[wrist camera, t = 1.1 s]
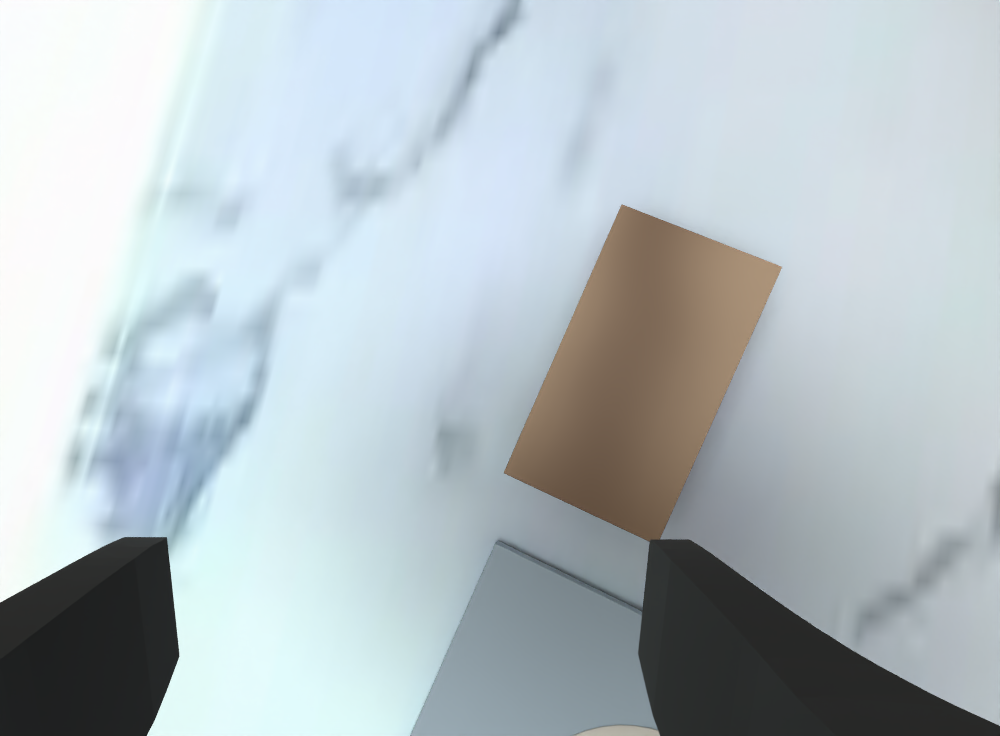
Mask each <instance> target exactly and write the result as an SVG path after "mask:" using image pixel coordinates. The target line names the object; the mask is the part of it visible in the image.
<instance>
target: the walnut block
mask: <svg viewBox="0 0 1000 736" xmlns="http://www.w3.org/2000/svg"><path fill="white" fill-rule="evenodd" d="M781 268H782V267H781V266H778V265H776V264H773V263H771V262H768V261H765V260H763V259H760V258H758V257H755V256H753V255H750V254H748V253H745V252H742V251H740V250H737V249H735V248H732V247H730V246H727V245H724V244H722V243H719V242H717V241H714V240H712V239H709V238H707V237H704V236H701V235H699V234H696V233H694V232H691V231H689V230H686V229H683V228H681V227H678V226H676V225H673V224H671V223H668V222H666V221H663V220H660V219H658V218H655V217H653V216H650V215H648V214H645V213H642V212H640V211H637V210H635V209H632V208H630V207H627V206H625V205H621V207H620V210H619V212H618V214H617V216H616V219H615V221H614V223H613V226H612V228H611V230H610V232H609V235H608V237H607V239H606V241H605V244H604V246H603V248H602V251H601V253H600V255H599V257H598V260H597V262H596V264H595V266H594V269H593V271H592V273H591V276H590V278H589V280H588V282H587V285H586V287H585V289H584V291H583V294H582V296H581V298H580V301H579V303H578V305H577V307H576V310H575V312H574V314H573V317H572V319H571V321H570V323H569V326H568V328H567V330H566V332H565V335H564V337H563V339H562V342H561V344H560V346H559V348H558V351H557V353H556V355H555V357H554V360H553V362H552V364H551V367H550V369H549V371H548V373H547V376H546V378H545V380H544V382H543V385H542V387H541V389H540V392H539V394H538V396H537V398H536V401H535V403H534V405H533V407H532V410H531V412H530V414H529V417H528V419H527V421H526V423H525V426H524V428H523V430H522V433H521V435H520V437H519V439H518V442H517V444H516V446H515V448H514V451H513V453H512V455H511V458H510V460H509V462H508V464H507V467H506V469H505V471H504V473H505V474H507V475H509V476H511V477H513V478H515V479H517V480H520V481H522V482H524V483H526V484H528V485H530V486H532V487H534V488H537V489H539V490H541V491H543V492H545V493H547V494H549V495H551V496H554V497H556V498H558V499H560V500H562V501H564V502H566V503H568V504H571V505H573V506H575V507H577V508H579V509H581V510H583V511H585V512H588V513H590V514H592V515H594V516H596V517H598V518H600V519H602V520H605V521H607V522H609V523H611V524H613V525H615V526H617V527H619V528H622V529H624V530H626V531H628V532H630V533H632V534H634V535H636V536H639V537H641V538H643V539H645V540H647V541H649V542H650V539H658V540H660V537H661V535H662V533H663V531H664V528H665V526H666V524H667V522H668V519H669V517H670V515H671V513H672V511H673V508H674V506H675V504H676V502H677V499H678V497H679V495H680V493H681V491H682V488H683V486H684V484H685V482H686V479H687V477H688V475H689V473H690V471H691V468H692V466H693V464H694V462H695V459H696V457H697V455H698V453H699V451H700V448H701V446H702V444H703V442H704V439H705V437H706V435H707V433H708V431H709V428H710V426H711V424H712V422H713V419H714V417H715V415H716V413H717V411H718V408H719V406H720V404H721V402H722V399H723V397H724V395H725V393H726V391H727V388H728V386H729V384H730V382H731V379H732V377H733V375H734V373H735V371H736V368H737V366H738V364H739V362H740V359H741V357H742V355H743V353H744V351H745V348H746V346H747V344H748V342H749V339H750V337H751V335H752V333H753V331H754V328H755V326H756V324H757V322H758V319H759V317H760V315H761V313H762V310H763V308H764V306H765V304H766V302H767V299H768V297H769V295H770V293H771V290H772V288H773V286H774V284H775V282H776V279H777V277H778V275H779V273H780V270H781Z"/></svg>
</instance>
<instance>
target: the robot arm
mask: <svg viewBox="0 0 1000 736" xmlns="http://www.w3.org/2000/svg"><path fill="white" fill-rule="evenodd" d="M638 656H639V660H640V665H641V669H642V673H643V678H644V682H645V687H646V691H647V695H648V699H649V703H650V707H651V711H652V715H653V718H654V720H655V723H656V726H657V729H658V731H659V734H660V736H1000V726H999V725H996V724H994V723H992V722H990V721H988V720H985V719H983V718H981V717H979V716H977V715H974V714H972V713H970V712H968V711H965V710H963V709H961V708H959V707H957V706H955V705H953V704H951V703H949V702H947V701H945V700H943V699H941V698H939V697H936V696H934V695H932V694H930V693H928V692H926V691H925V690H923V689H921V688H919V687H917V686H915V685H913V684H912V683H910V682H908V681H906V680H904V679H902V678H900V677H899V676H897V675H895V674H893V673H891V672H889V671H887V670H886V669H884V668H882V667H880V666H878V665H876V664H875V663H873V662H871V661H869V660H868V659H866V658H864V657H863V656H861V655H859V654H857V653H856V652H854V651H852V650H851V649H849V648H848V647H846V646H844V645H843V644H841V643H840V642H838V641H836V640H835V639H833V638H832V637H830V636H829V635H827V634H825V633H824V632H822V631H821V630H819V629H817V628H816V627H814V626H813V625H811V624H810V623H808V622H807V621H805V620H804V619H802V618H801V617H799V616H798V615H796V614H795V613H793V612H792V611H790V610H789V609H787V608H786V607H785V606H783V605H782V604H780V603H779V602H777V601H776V600H775V599H773V598H772V597H770V596H769V595H767V594H766V593H765V592H763V591H762V590H760V589H759V588H758V587H756V586H755V585H754V584H752V583H751V582H749V581H748V580H747V579H745V578H744V577H743V576H741V575H740V574H738V573H737V572H736V571H734V570H733V569H732V568H730V567H729V566H727V565H726V564H725V563H723V562H722V561H721V560H719V559H718V558H716V557H715V556H714V555H712V554H711V553H709V552H708V551H706V550H705V549H704V548H702V547H701V546H699V545H697V544H696V543H694V542H692V541H691V540H658V539H650V544H649V554H648V563H647V573H646V582H645V592H644V601H643V610H642V620H641V629H640V639H639V648H638ZM178 658H179V648H178V638H177V629H176V619H175V610H174V601H173V591H172V582H171V572H170V563H169V554H168V544H167V537H124V538H121V539H119V540H117V541H114V542H112V543H110V544H108V545H106V546H104V547H102V548H100V549H98V550H96V551H94V552H92V553H90V554H88V555H86V556H84V557H82V558H81V559H79V560H77V561H75V562H73V563H71V564H70V565H68V566H66V567H64V568H62V569H61V570H59V571H57V572H55V573H53V574H52V575H50V576H48V577H46V578H44V579H42V580H41V581H39V582H37V583H35V584H33V585H31V586H30V587H28V588H26V589H24V590H22V591H21V592H19V593H17V594H15V595H13V596H11V597H10V598H8V599H6V600H4V601H2V602H1V603H0V736H147V734H148V732H149V730H150V728H151V726H152V724H153V722H154V720H155V718H156V716H157V713H158V711H159V708H160V706H161V703H162V701H163V698H164V696H165V693H166V691H167V688H168V685H169V683H170V680H171V677H172V675H173V672H174V669H175V666H176V664H177V661H178Z"/></svg>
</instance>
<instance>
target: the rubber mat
mask: <svg viewBox="0 0 1000 736" xmlns="http://www.w3.org/2000/svg"><path fill="white" fill-rule="evenodd" d="M641 620H642V611H641V610H639V609H636V608H634V607H632V606H630V605H628V604H626V603H624V602H622V601H620V600H618V599H616V598H614V597H612V596H610V595H608V594H606V593H604V592H602V591H600V590H598V589H596V588H594V587H592V586H590V585H588V584H585V583H583V582H581V581H579V580H577V579H575V578H573V577H571V576H569V575H567V574H565V573H563V572H561V571H559V570H557V569H555V568H553V567H551V566H549V565H547V564H545V563H543V562H541V561H539V560H537V559H534V558H532V557H530V556H528V555H526V554H524V553H522V552H520V551H518V550H516V549H514V548H512V547H510V546H508V545H506V544H504V543H502V542H500V541H497V542H496V543H495V545H494V548H493V550H492V552H491V554H490V557H489V559H488V561H487V563H486V566H485V568H484V570H483V572H482V575H481V577H480V579H479V581H478V584H477V586H476V588H475V591H474V593H473V595H472V597H471V600H470V602H469V604H468V606H467V609H466V611H465V613H464V615H463V618H462V620H461V622H460V624H459V627H458V629H457V631H456V633H455V636H454V638H453V640H452V643H451V645H450V647H449V649H448V652H447V654H446V656H445V658H444V661H443V663H442V665H441V667H440V670H439V672H438V674H437V676H436V679H435V681H434V683H433V685H432V688H431V690H430V692H429V695H428V697H427V699H426V701H425V704H424V706H423V708H422V710H421V713H420V715H419V717H418V719H417V722H416V724H415V726H414V728H413V731H412V733H411V735H410V736H660V734H659V731H658V729H657V726H656V723H655V720H654V718H653V715H652V711H651V707H650V703H649V699H648V695H647V691H646V687H645V682H644V678H643V673H642V669H641V665H640V660H639V656H638V648H639V639H640V629H641Z"/></svg>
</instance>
